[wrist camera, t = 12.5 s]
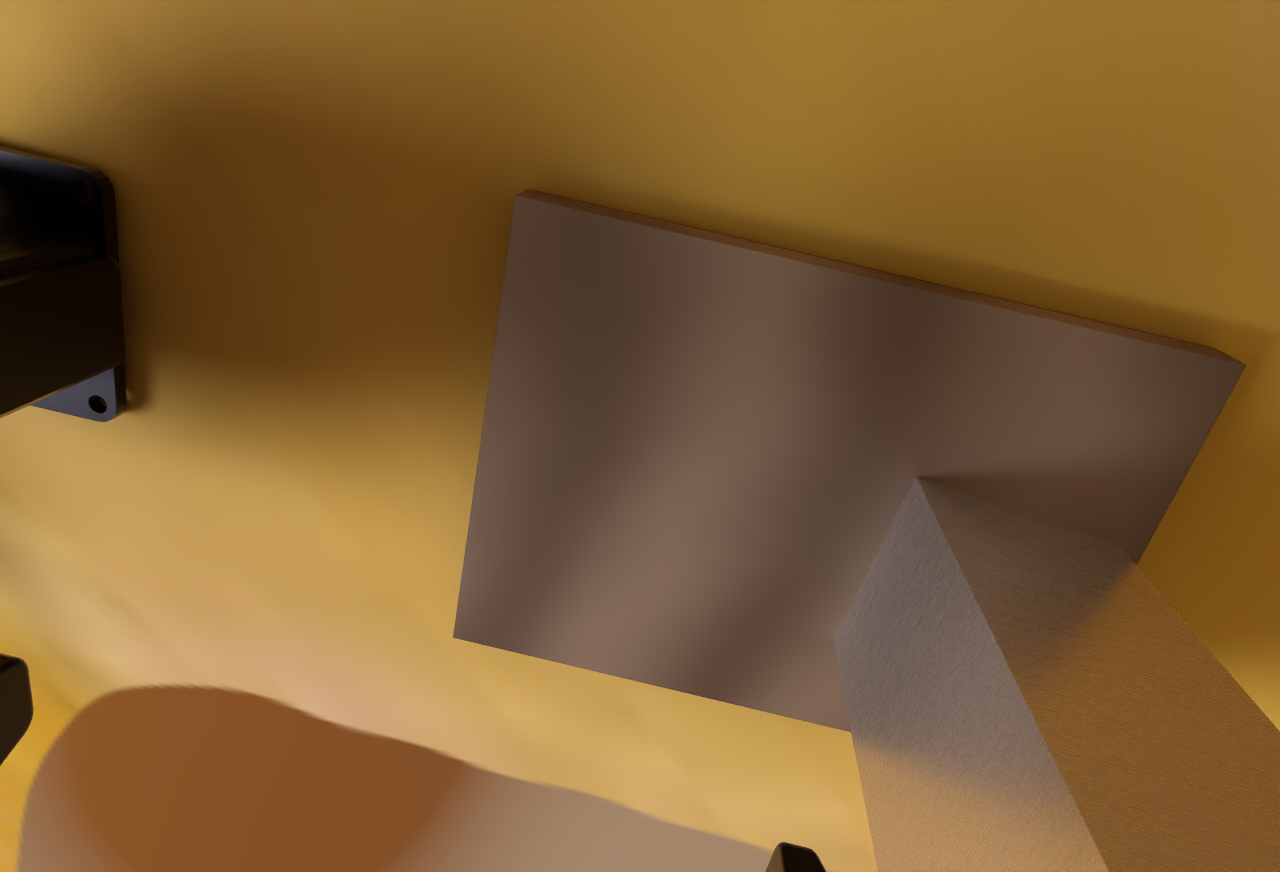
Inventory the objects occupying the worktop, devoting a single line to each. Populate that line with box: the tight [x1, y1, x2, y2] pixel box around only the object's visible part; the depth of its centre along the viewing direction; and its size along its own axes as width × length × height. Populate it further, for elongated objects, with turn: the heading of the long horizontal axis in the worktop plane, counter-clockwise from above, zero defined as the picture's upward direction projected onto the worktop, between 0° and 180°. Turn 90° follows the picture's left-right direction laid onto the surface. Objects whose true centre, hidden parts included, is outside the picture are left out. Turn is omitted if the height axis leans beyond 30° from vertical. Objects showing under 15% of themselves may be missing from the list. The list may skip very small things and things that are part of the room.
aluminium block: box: [834, 477, 1280, 872], centre depth 14 cm, size 5×5×13 cm
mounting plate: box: [453, 189, 1246, 732], centre depth 20 cm, size 16×12×1 cm
